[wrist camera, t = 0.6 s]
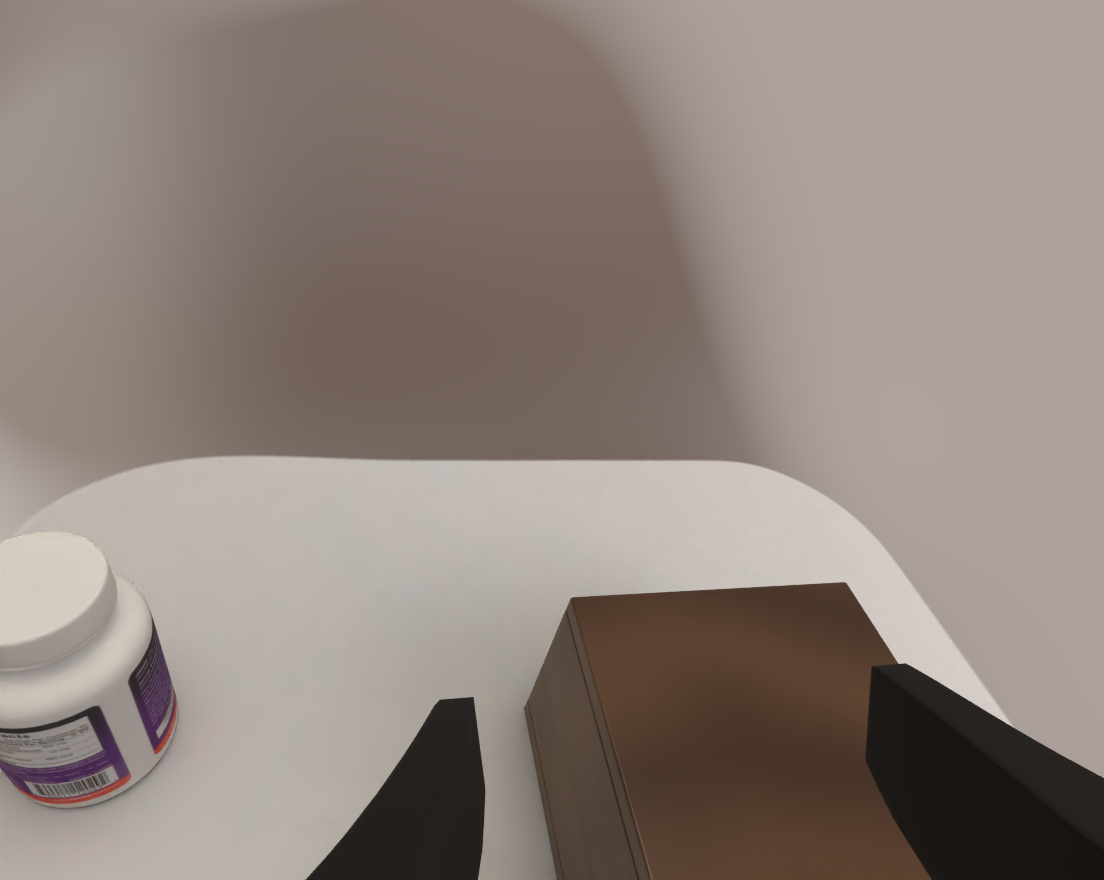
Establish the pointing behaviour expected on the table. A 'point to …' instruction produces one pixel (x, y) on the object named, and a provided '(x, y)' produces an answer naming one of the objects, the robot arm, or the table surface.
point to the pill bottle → (77, 674)
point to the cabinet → (714, 738)
